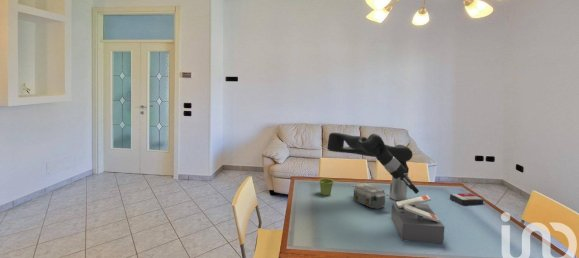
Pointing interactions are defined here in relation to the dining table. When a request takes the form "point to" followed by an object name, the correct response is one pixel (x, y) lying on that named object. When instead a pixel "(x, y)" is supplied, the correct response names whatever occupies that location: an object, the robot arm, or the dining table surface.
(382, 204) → the grey boxy piece
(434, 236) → the rocker switch panel
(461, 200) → the calculator
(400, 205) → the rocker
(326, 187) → the plant pot
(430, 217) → the rocker
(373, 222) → the dining table surface
